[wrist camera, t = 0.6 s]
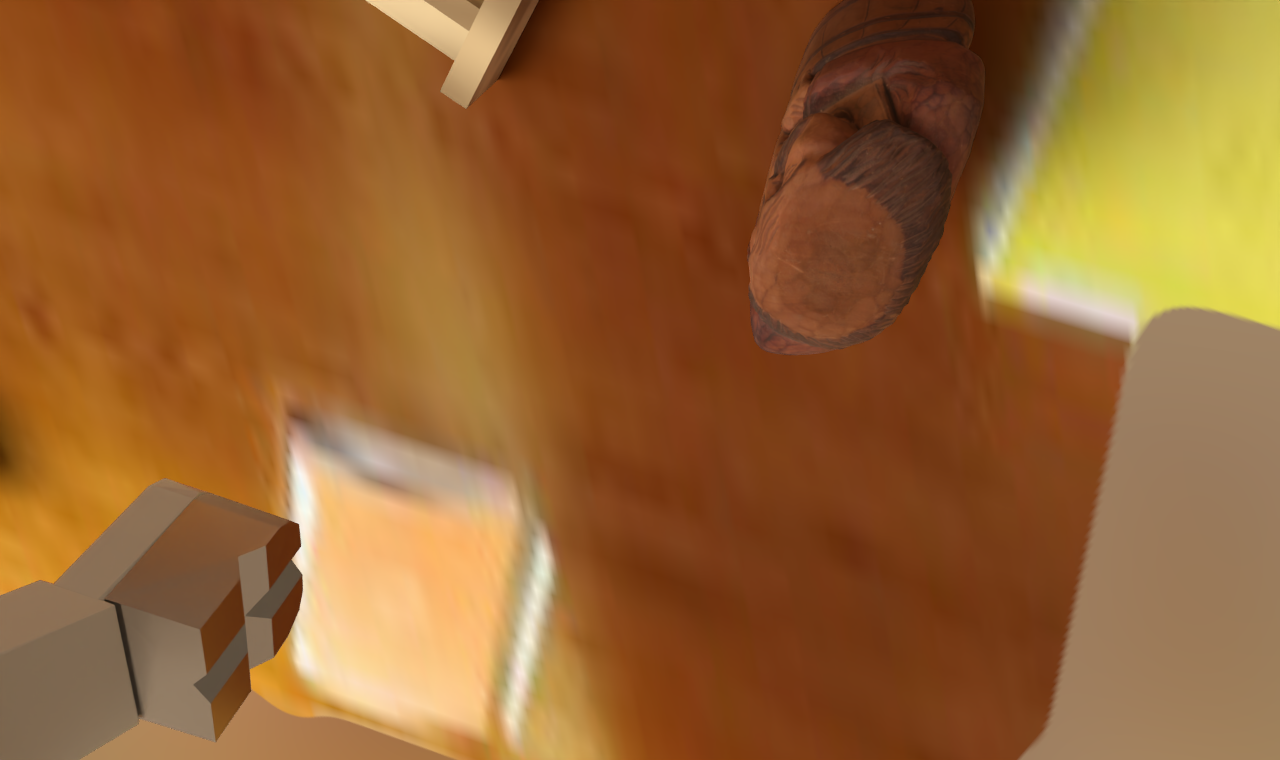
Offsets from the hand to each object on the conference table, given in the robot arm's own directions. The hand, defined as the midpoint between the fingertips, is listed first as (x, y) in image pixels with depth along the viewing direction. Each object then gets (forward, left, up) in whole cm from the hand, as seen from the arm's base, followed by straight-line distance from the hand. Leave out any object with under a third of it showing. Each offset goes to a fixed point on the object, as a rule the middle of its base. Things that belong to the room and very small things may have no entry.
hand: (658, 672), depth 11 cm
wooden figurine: (+7, +4, -40) cm, 41 cm away
